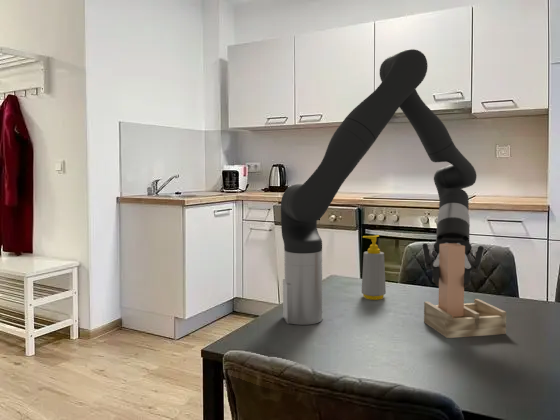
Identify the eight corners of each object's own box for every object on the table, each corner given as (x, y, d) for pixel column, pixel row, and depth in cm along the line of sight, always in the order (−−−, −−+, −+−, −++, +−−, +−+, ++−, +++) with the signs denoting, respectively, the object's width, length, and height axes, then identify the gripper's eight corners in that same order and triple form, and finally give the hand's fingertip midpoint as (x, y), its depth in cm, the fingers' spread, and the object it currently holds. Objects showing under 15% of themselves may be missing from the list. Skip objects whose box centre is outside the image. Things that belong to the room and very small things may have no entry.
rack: (447, 338, 104) (447, 315, 103) (423, 322, 114) (424, 301, 114) (505, 333, 106) (506, 311, 105) (477, 318, 117) (478, 298, 116)
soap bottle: (356, 295, 139) (357, 234, 138) (378, 293, 141) (378, 233, 140) (368, 301, 133) (368, 237, 131) (390, 299, 135) (390, 236, 133)
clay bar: (447, 316, 107) (448, 246, 106) (438, 311, 111) (439, 243, 110) (463, 315, 108) (465, 245, 106) (454, 310, 112) (455, 243, 110)
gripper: (422, 215, 117) (417, 273, 107) (485, 216, 112) (487, 278, 102) (423, 233, 122) (418, 291, 112) (484, 236, 117) (485, 296, 107)
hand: (451, 284), depth 107 cm, fingers closed on clay bar, 5 cm apart
